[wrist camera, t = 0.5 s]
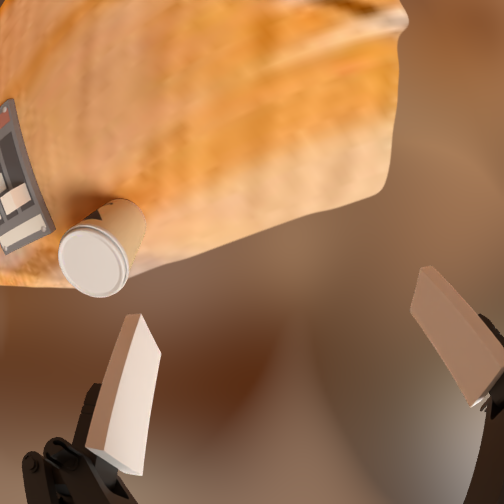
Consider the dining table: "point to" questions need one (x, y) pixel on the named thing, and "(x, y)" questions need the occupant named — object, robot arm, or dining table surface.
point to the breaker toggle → (2, 183)
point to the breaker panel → (30, 182)
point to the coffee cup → (102, 248)
